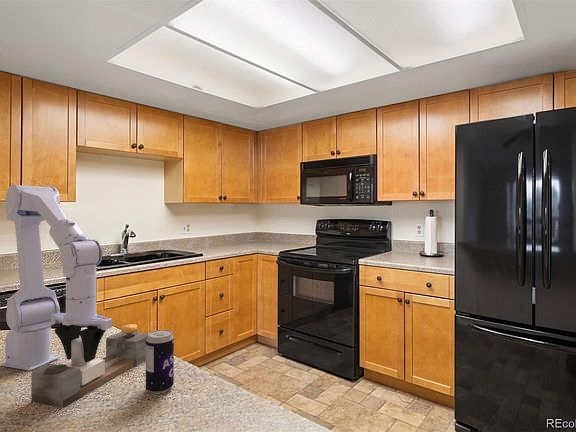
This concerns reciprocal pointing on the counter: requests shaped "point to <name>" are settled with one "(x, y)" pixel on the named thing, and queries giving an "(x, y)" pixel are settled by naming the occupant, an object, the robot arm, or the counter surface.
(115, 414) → the counter surface
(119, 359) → the rail
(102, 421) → the counter surface
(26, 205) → the robot arm
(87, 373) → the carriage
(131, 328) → the button
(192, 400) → the counter surface
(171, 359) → the beverage can
